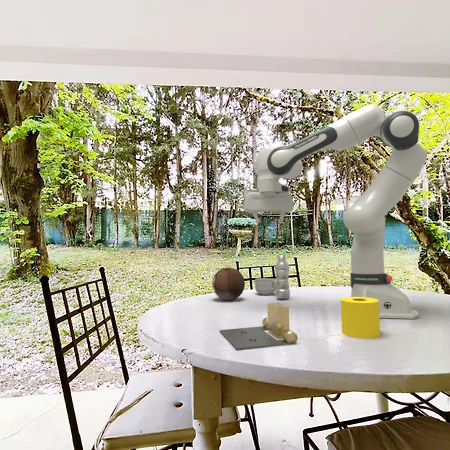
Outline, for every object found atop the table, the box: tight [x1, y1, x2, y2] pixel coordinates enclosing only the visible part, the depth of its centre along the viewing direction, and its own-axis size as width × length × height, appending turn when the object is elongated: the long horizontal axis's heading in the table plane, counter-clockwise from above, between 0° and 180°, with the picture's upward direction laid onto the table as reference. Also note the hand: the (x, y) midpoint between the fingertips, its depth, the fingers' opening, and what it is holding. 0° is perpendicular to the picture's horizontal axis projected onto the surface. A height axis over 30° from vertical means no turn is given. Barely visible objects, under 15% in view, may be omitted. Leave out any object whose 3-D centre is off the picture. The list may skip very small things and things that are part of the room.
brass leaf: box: [266, 301, 290, 340], centre depth 95 cm, size 7×4×8 cm, turn 14°
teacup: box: [254, 277, 277, 296], centre depth 167 cm, size 14×11×8 cm
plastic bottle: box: [274, 254, 291, 301], centre depth 153 cm, size 6×7×20 cm
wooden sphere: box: [211, 266, 246, 301], centre depth 154 cm, size 15×15×15 cm
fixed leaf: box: [219, 317, 299, 351], centre depth 93 cm, size 18×16×3 cm
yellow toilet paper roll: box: [340, 296, 381, 339], centre depth 95 cm, size 10×10×9 cm
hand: (269, 223), depth 133 cm, fingers open, 8 cm apart
